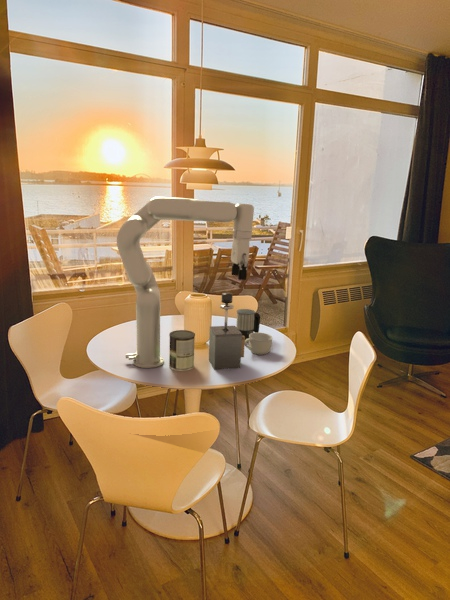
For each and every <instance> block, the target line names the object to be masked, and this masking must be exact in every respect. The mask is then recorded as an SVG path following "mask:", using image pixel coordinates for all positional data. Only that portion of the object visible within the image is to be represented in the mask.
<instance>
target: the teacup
mask: <svg viewBox="0 0 450 600" xmlns="http://www.w3.org/2000/svg"><path fill="white" fill-rule="evenodd" d="M273 338H274V337H273V336H272V335H271V334H268V333H266V332H265V333H264V332H260V331H259V332H258V333H257V332H256V333H255V332H253V333H251V334H249V338H248V339H246V340H245V345H244V347H245V348H247V349H248V350H249V351H251V352H252V353H253V354H255V355H259V356H261V355H262V356H263V354H264V355H266V354H268V353H269V352H270V351H271V349H272V346H273V345H272V344H273ZM248 341H249V343H247V342H248Z"/></svg>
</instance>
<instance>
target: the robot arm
mask: <svg viewBox="0 0 450 600" xmlns="http://www.w3.org/2000/svg"><path fill="white" fill-rule="evenodd" d="M254 213H255V207H254V206H253V204H251V203H232V202H230V201H211V200H210V201H209V200H201V199H200V200H199V199H196V198H190V197H189V198H185V197H170V196H169V197H167V196H154V197H152V198H150V200H149V201H147V202H146V203H145V205H143V207H141V208H139V210H138V211H137V212H135V213H134V214H133V215H131V217H129V218H128V219H127V220H126V221H125V222H124V223H123V224H122V225H121V226H120V229H118V232H117V234H116V235H117V236H116V246H117V250H118V253H119V256H120V258H121V263H122V265H123V267H124V270H125V272H126V276H127V279H128V282H130V283H131V285H133V288H134V290H135V293H136V299H135V311H136V312H135V313H136V315H135V316H136V318H135V319H136V320H135V321H136V322H135V323H136V350H135V352H133V353H125V359H128V360H129V361H132V363H133V365H134V366H135V367H137V368H143V369H153V368H158V367H161V366H162V365H163V364H164V362H165V360H164V358H163V357H162V356H161V308H162V307H161V304H162V303H161V302H162V301H161V299H162V298H161V291H160V288H159V286H158V282H157V280H156V278H155V275H154V272H153V269H152V267H151V265H150V264H149V262H147V261H146V259H145V256H144V252H143V250H142V248H141V244H140V241H141V239H142V238H143V237H145V235H146V234H147V233H148V232H149V231H150V230H151V229H152V228H153V227H154V226H155V225H157V224H158V223H159V222H160V221H161V220H163V221H166V220H167V221H184V222H185V221H187V222H213V223H230V222H232V221H233V229H232V245H231V246H232V247H231V253H230V261H231V262H232V263H231V276H238V277H237V279H238V280H239V281H240V280H241V281H243V280H244V281H245V280H247V276H248V275H247V273H248V264H249V258H250V241H251V240H252V236H253V225H254V224H253V223H254Z"/></svg>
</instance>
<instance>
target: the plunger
mask: <svg viewBox="0 0 450 600" xmlns="http://www.w3.org/2000/svg"><path fill="white" fill-rule="evenodd" d="M233 295H234V294H233V292H222V293H221V301H220V303H221V304H219V308H220V309H222V310H224V325H223V326H224V331H227V326H228V319H229V310H233V309H234V306H235V305H233V304H232V303H233Z"/></svg>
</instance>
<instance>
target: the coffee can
mask: <svg viewBox="0 0 450 600" xmlns="http://www.w3.org/2000/svg"><path fill="white" fill-rule="evenodd" d="M195 336H196V333H195V332H193V331H191V330H186V329H179V330H178V329H176V330H172V331H171V332H169V335H168V337H169V359H168V361H169V363H168V366H169V369H171V370H172V371H176V372H187V371H191V370H193V369H194V367H195V342H196V340H195V339H196V338H195Z"/></svg>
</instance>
